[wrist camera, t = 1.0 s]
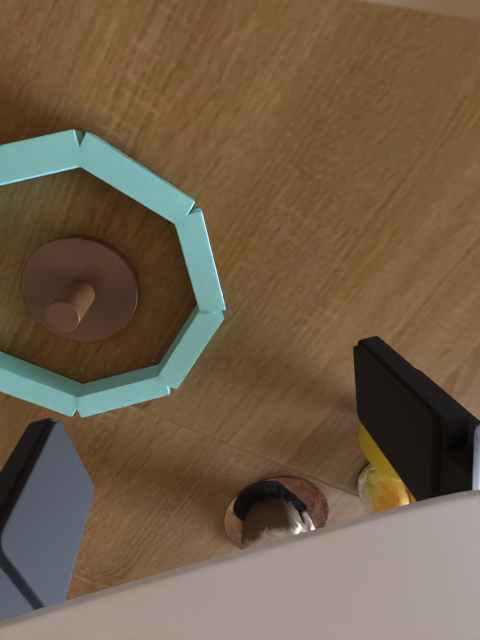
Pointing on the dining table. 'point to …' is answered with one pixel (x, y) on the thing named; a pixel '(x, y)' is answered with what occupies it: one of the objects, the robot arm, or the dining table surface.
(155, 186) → the ring
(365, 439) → the lemon
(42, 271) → the post
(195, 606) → the robot arm
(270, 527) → the iced cupcake on saucer
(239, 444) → the dining table surface
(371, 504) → the bread roll
